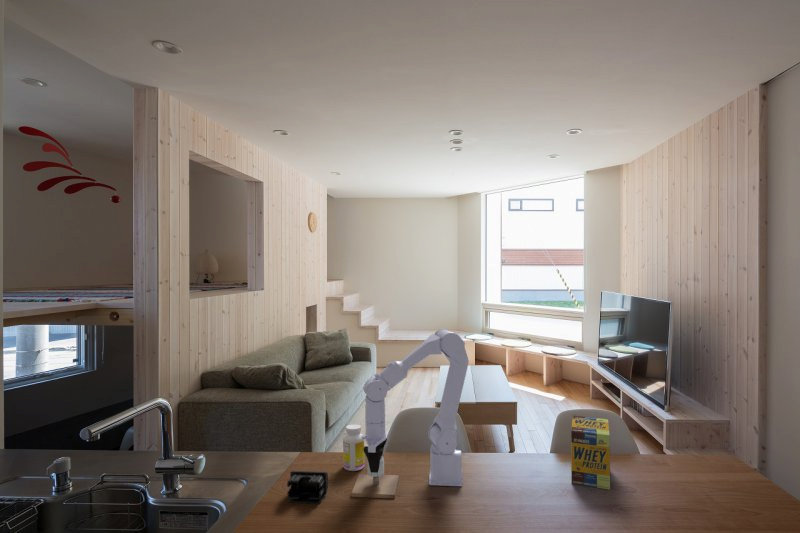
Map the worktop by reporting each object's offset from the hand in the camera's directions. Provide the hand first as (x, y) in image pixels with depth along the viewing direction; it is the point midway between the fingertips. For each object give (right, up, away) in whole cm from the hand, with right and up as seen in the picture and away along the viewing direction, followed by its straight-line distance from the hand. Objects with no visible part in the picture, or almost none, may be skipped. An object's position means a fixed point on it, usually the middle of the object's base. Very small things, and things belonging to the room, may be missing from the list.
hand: (375, 468), depth 137 cm
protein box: (+64, -5, +6) cm, 64 cm away
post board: (0, -6, 0) cm, 6 cm away
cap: (0, -1, 0) cm, 1 cm away
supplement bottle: (-8, -6, +14) cm, 17 cm away
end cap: (-19, -6, -5) cm, 20 cm away
